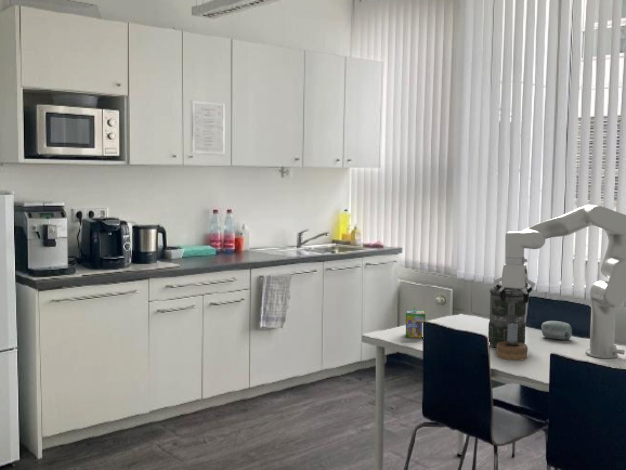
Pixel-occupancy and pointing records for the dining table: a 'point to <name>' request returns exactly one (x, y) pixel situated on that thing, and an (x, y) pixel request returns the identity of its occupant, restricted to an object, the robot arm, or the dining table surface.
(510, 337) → the pin
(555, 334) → the grey-green rounded cylinder
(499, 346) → the brown round short cylinder
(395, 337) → the dining table surface
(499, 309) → the canister
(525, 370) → the dining table surface
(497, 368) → the dining table surface
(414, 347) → the dining table surface
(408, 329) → the chalk box
